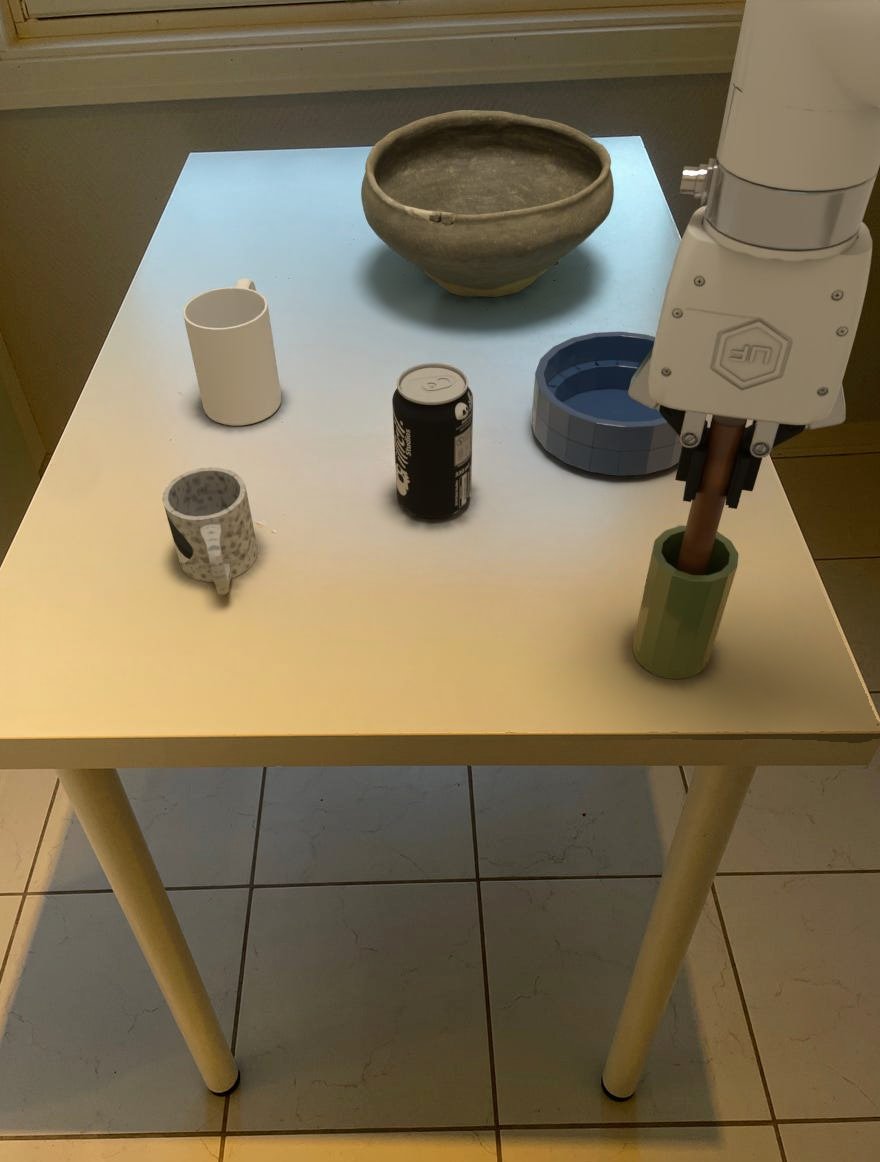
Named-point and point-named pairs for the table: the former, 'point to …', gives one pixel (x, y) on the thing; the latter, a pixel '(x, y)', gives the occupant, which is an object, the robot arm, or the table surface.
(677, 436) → the mixing bowl
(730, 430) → the cooking stick
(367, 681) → the table surface
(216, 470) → the mug
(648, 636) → the utensil crock
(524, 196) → the bowl
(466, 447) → the beverage can
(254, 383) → the mug
